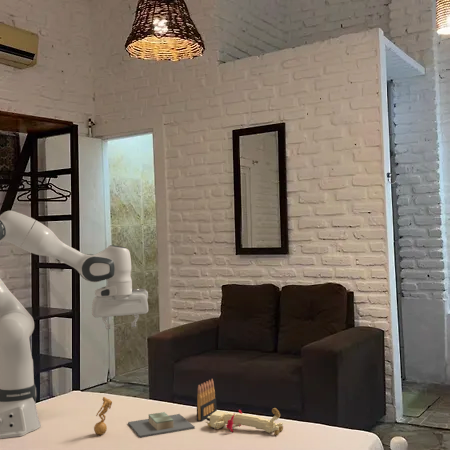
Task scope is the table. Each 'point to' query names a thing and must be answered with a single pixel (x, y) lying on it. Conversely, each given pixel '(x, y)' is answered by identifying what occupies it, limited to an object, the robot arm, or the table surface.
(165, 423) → the pale green streaked tile
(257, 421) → the cat figure
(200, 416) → the ammunition clip
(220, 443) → the table surface
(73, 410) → the table surface
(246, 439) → the table surface
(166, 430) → the rubber mat
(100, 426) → the figurine
